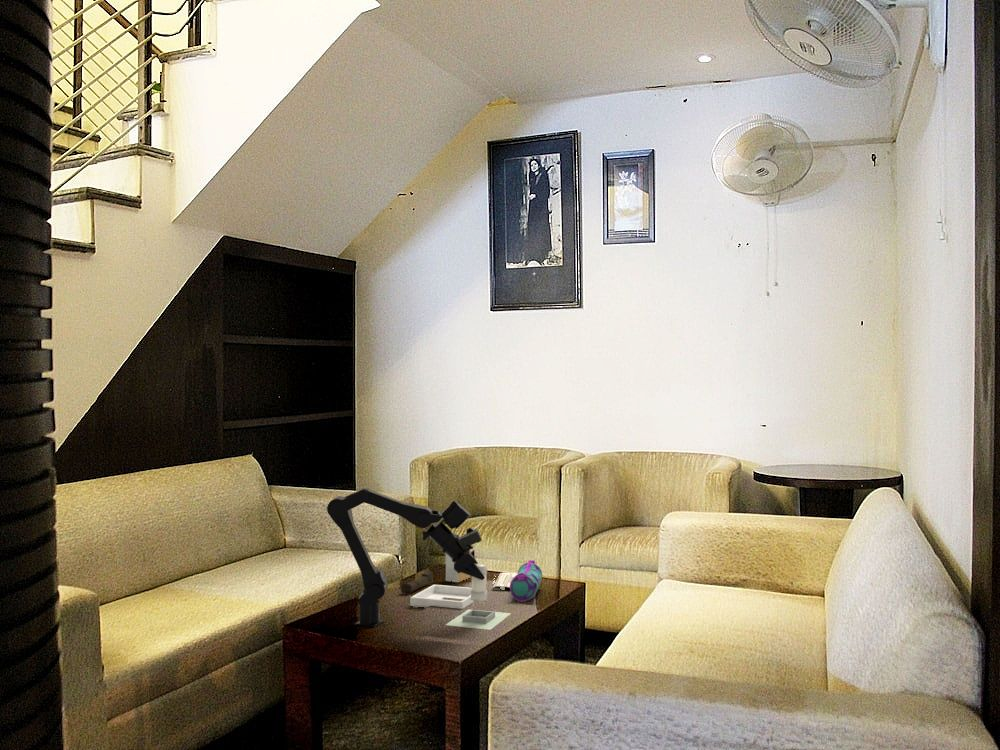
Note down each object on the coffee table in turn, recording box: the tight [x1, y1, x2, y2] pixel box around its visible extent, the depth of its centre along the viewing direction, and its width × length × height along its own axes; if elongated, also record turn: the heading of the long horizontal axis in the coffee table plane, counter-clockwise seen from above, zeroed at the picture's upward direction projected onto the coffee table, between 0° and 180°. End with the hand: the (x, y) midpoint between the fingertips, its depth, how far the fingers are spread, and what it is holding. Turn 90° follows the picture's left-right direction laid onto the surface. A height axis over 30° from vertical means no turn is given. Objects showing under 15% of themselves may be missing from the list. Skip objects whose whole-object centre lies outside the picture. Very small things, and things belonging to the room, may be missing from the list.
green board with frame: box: [445, 609, 512, 631], centre depth 252 cm, size 18×14×2 cm
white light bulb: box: [471, 563, 488, 602], centre depth 252 cm, size 5×5×10 cm
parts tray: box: [409, 584, 475, 610], centre depth 275 cm, size 18×18×3 cm
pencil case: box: [509, 559, 543, 603], centre depth 284 cm, size 21×9×10 cm, turn 172°
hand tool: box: [400, 570, 434, 595], centre depth 294 cm, size 19×4×5 cm, turn 154°
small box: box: [445, 549, 471, 583], centre depth 306 cm, size 8×6×10 cm
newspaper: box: [492, 572, 518, 591], centre depth 300 cm, size 23×12×2 cm, turn 173°
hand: (483, 576), depth 252 cm, fingers closed on white light bulb, 5 cm apart
